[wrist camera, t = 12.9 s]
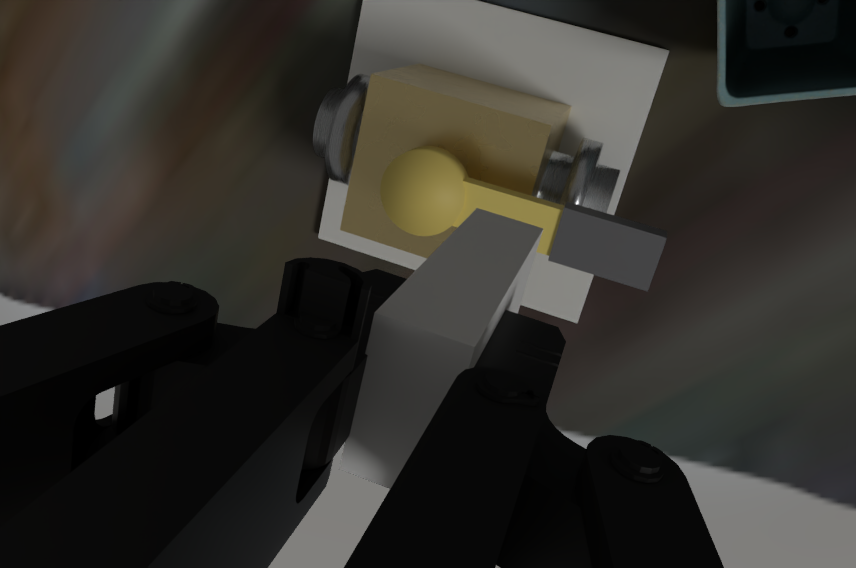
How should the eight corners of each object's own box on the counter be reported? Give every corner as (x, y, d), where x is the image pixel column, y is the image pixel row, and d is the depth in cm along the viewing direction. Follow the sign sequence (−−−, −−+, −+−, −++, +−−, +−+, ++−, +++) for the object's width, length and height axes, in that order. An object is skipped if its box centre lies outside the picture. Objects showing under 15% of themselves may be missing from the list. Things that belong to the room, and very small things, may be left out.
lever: (672, 215, 38) (672, 222, 37) (643, 296, 40) (642, 306, 39) (398, 135, 41) (389, 139, 40) (381, 215, 42) (372, 221, 41)
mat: (371, -28, 50) (368, -28, 50) (669, 50, 47) (669, 51, 46) (321, 235, 57) (317, 237, 56) (578, 320, 54) (577, 323, 53)
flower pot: (876, 76, 44) (923, 90, 36) (708, 91, 47) (716, 108, 39) (884, -96, 42) (936, -123, 34) (706, -70, 44) (714, -88, 36)
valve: (361, 47, 51) (289, 55, 41) (635, 124, 48) (626, 152, 38) (336, 179, 55) (263, 216, 45) (590, 259, 51) (571, 317, 42)
